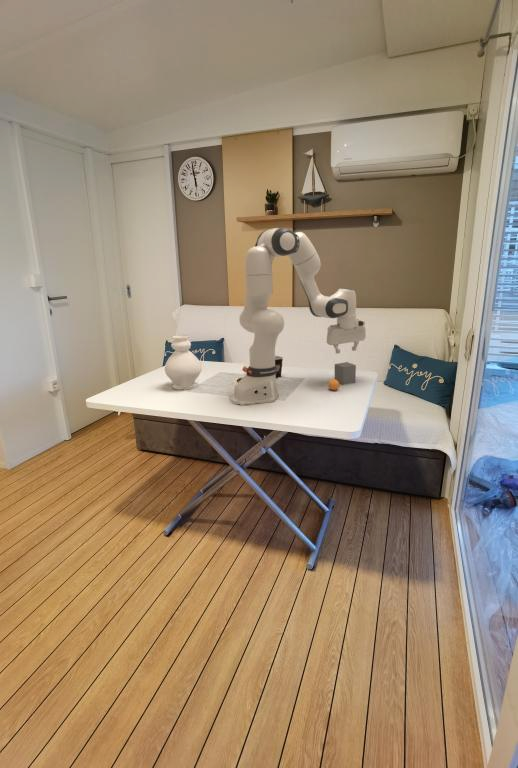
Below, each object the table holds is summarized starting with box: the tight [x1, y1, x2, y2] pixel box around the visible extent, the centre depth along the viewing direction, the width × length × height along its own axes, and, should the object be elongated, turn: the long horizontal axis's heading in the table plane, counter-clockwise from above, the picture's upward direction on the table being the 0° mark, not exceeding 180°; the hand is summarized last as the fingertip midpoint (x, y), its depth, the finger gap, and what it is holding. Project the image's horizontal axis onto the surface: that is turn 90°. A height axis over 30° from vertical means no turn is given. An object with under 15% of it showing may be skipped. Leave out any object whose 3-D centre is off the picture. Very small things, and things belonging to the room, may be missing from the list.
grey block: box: [334, 361, 357, 386], centre depth 199 cm, size 7×7×9 cm
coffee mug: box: [275, 355, 284, 379], centre depth 214 cm, size 12×9×10 cm
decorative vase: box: [164, 334, 203, 390], centre depth 200 cm, size 18×18×25 cm
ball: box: [327, 378, 340, 391], centre depth 188 cm, size 5×5×5 cm
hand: (346, 351), depth 196 cm, fingers open, 8 cm apart
